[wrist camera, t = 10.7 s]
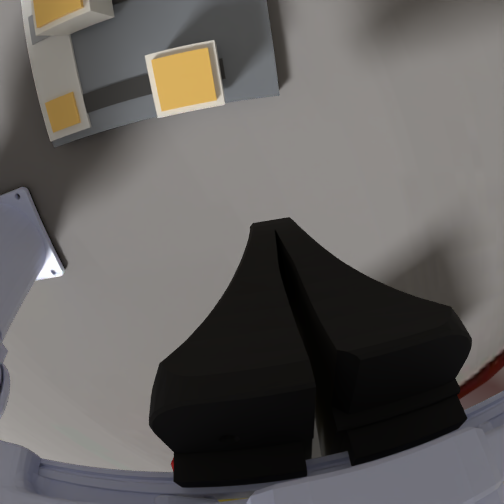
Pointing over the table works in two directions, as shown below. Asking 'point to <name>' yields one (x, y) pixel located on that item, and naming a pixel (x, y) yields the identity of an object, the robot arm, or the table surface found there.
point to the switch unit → (143, 60)
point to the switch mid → (68, 15)
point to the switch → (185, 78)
